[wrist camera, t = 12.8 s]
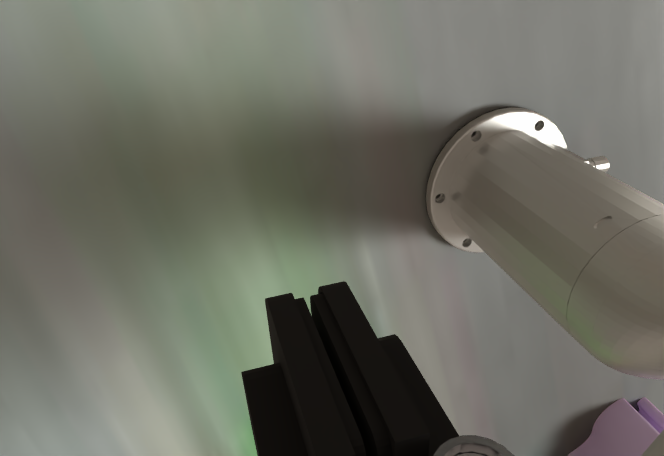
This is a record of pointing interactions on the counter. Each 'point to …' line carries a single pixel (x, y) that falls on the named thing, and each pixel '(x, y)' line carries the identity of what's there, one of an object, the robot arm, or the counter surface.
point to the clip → (623, 430)
